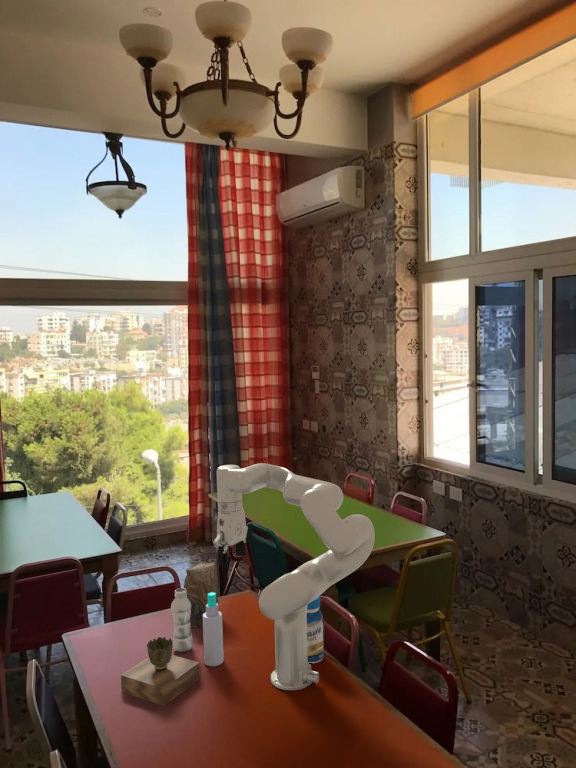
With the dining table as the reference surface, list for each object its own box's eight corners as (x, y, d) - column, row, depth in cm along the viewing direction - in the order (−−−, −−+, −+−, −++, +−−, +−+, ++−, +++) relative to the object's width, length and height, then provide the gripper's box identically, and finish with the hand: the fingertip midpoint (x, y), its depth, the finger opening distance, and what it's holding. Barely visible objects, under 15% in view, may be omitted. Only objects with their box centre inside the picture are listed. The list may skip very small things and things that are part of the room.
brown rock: (182, 627, 224) (180, 572, 223) (191, 612, 236) (189, 559, 235) (217, 627, 223) (215, 572, 221) (224, 612, 235) (222, 560, 234)
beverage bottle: (324, 651, 204) (323, 591, 202) (323, 665, 195) (322, 602, 194) (298, 651, 204) (297, 590, 203) (296, 664, 196) (294, 601, 195)
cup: (142, 672, 184) (141, 645, 184) (159, 660, 191) (157, 634, 190) (163, 677, 181) (161, 650, 180) (178, 665, 187) (177, 639, 187)
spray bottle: (227, 659, 200) (224, 591, 199) (217, 668, 195) (214, 599, 193) (210, 655, 203) (208, 589, 201) (200, 664, 197) (198, 596, 196)
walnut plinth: (199, 678, 189) (199, 662, 189) (164, 706, 175) (163, 688, 175) (158, 666, 197) (157, 650, 197) (121, 691, 183) (120, 675, 183)
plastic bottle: (191, 654, 204) (189, 594, 203) (170, 654, 204) (168, 594, 203) (194, 644, 211) (192, 586, 209) (174, 645, 211) (172, 586, 209)
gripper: (224, 514, 184) (226, 571, 185) (255, 500, 199) (257, 553, 200) (203, 511, 188) (205, 567, 189) (235, 498, 203) (237, 550, 204)
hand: (232, 560), depth 195 cm, fingers open, 9 cm apart
